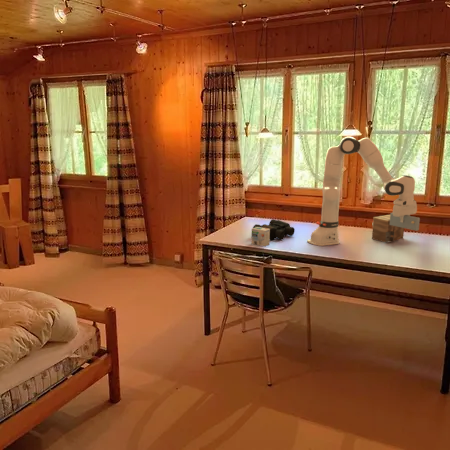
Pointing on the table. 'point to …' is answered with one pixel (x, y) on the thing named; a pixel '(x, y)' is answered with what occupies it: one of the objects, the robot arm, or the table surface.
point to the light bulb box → (260, 236)
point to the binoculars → (278, 229)
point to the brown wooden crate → (386, 229)
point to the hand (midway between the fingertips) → (404, 221)
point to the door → (405, 222)
